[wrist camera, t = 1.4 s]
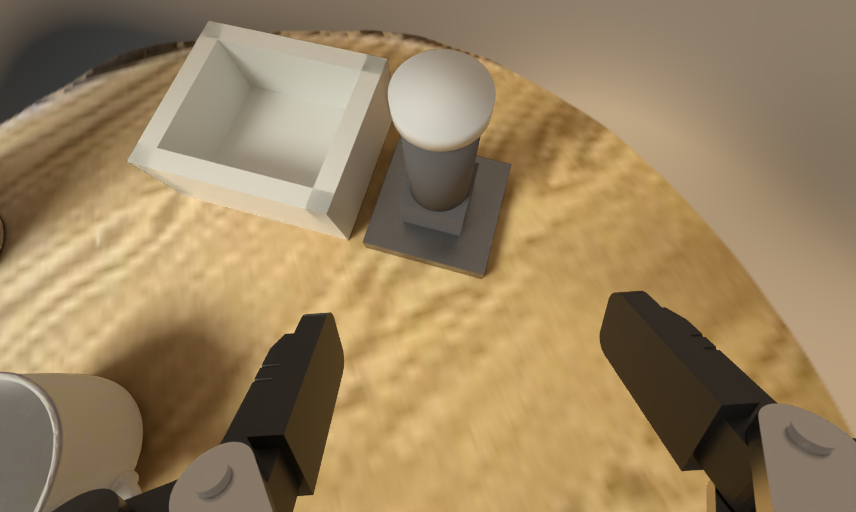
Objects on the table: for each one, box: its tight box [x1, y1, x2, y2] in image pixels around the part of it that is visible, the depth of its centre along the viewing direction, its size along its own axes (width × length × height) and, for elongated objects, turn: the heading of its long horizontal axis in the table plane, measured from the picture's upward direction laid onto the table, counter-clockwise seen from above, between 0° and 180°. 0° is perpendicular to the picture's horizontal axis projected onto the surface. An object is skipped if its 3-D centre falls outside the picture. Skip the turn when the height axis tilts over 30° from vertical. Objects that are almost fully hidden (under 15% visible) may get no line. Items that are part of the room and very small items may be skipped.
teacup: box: [0, 372, 143, 512], centre depth 20 cm, size 14×11×8 cm
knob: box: [388, 49, 495, 236], centre depth 21 cm, size 5×5×12 cm
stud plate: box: [363, 138, 511, 279], centre depth 26 cm, size 10×10×4 cm
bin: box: [127, 21, 392, 240], centre depth 27 cm, size 16×14×6 cm
